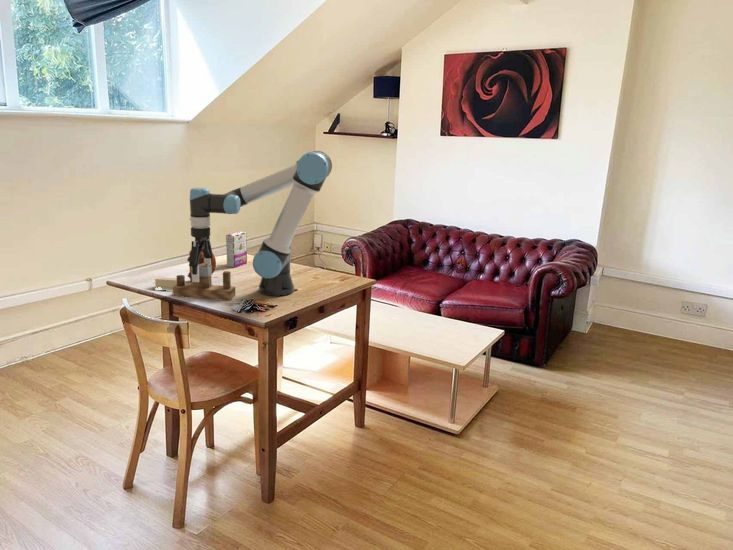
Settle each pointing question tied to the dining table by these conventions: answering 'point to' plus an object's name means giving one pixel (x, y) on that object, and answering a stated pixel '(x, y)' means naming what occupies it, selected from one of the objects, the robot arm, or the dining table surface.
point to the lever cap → (204, 270)
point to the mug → (201, 261)
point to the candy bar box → (236, 249)
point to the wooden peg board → (205, 288)
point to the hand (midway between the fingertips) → (201, 277)
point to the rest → (166, 283)
